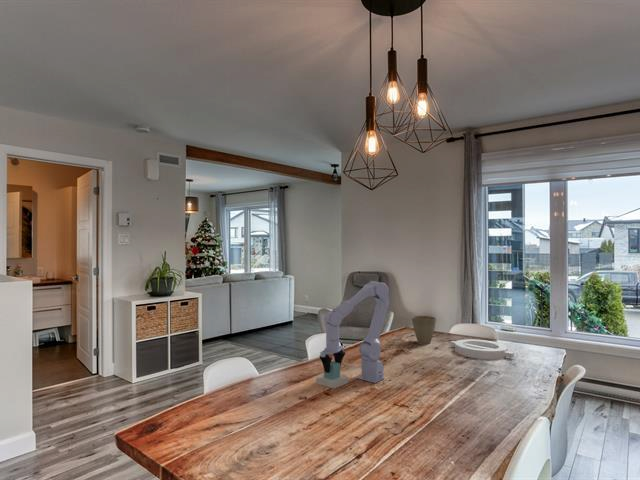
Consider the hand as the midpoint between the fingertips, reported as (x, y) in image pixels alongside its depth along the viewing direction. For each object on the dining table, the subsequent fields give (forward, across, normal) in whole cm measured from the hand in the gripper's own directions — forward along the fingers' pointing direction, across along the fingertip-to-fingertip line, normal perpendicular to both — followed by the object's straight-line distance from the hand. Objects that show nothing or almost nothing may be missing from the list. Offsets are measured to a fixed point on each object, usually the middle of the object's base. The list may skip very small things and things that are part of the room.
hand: (332, 370), depth 173 cm
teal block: (+3, 0, 0) cm, 3 cm away
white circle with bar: (+6, -98, +32) cm, 103 cm away
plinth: (+6, 0, 0) cm, 6 cm away
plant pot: (+6, -98, -3) cm, 98 cm away
